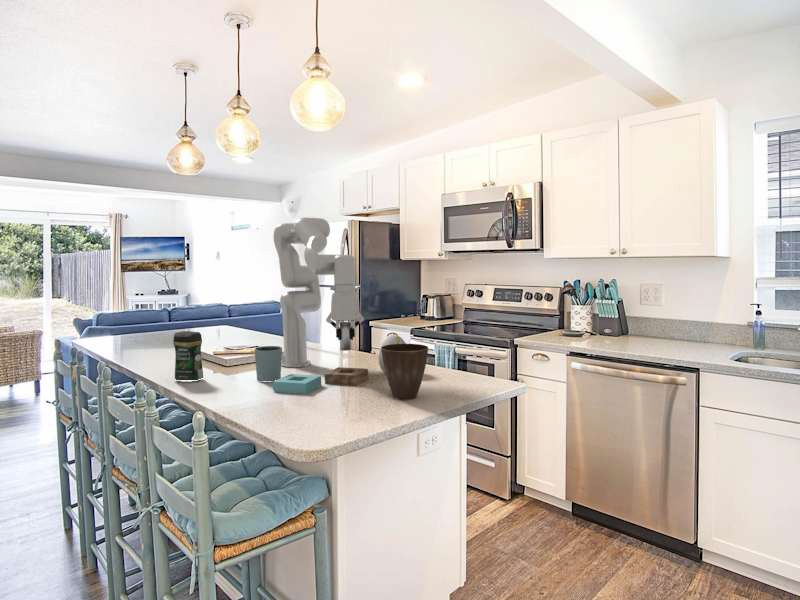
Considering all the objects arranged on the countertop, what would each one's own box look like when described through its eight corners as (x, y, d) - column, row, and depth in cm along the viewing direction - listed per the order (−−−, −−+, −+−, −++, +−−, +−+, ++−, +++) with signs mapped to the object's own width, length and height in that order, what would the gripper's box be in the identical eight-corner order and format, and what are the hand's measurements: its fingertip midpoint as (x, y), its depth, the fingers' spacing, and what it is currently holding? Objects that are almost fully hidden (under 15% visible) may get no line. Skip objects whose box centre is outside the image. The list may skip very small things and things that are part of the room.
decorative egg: (407, 376, 190) (407, 337, 189) (375, 375, 192) (375, 336, 191) (412, 369, 202) (411, 332, 201) (382, 369, 204) (381, 332, 203)
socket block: (273, 391, 169) (273, 381, 169) (290, 383, 181) (290, 374, 180) (305, 394, 166) (305, 383, 166) (321, 385, 177) (321, 375, 177)
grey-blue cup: (265, 376, 194) (264, 345, 193) (288, 377, 191) (287, 346, 190) (249, 382, 184) (248, 349, 184) (273, 383, 181) (272, 350, 180)
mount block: (324, 383, 180) (324, 373, 180) (338, 376, 192) (338, 367, 191) (356, 385, 177) (356, 375, 176) (368, 377, 188) (367, 368, 188)
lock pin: (338, 350, 182) (338, 322, 182) (342, 348, 186) (342, 321, 185) (348, 350, 181) (348, 323, 180) (352, 348, 185) (352, 321, 184)
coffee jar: (170, 382, 185) (168, 332, 184) (185, 377, 193) (182, 329, 192) (193, 383, 183) (191, 333, 182) (207, 378, 191) (205, 330, 189)
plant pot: (428, 390, 167) (427, 343, 166) (429, 403, 153) (428, 350, 151) (383, 391, 168) (382, 343, 167) (380, 403, 153) (379, 351, 152)
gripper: (321, 290, 177) (322, 341, 178) (368, 289, 179) (369, 340, 181) (321, 289, 184) (322, 338, 186) (367, 288, 187) (367, 337, 188)
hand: (345, 338), depth 183 cm, fingers closed on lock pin, 4 cm apart
